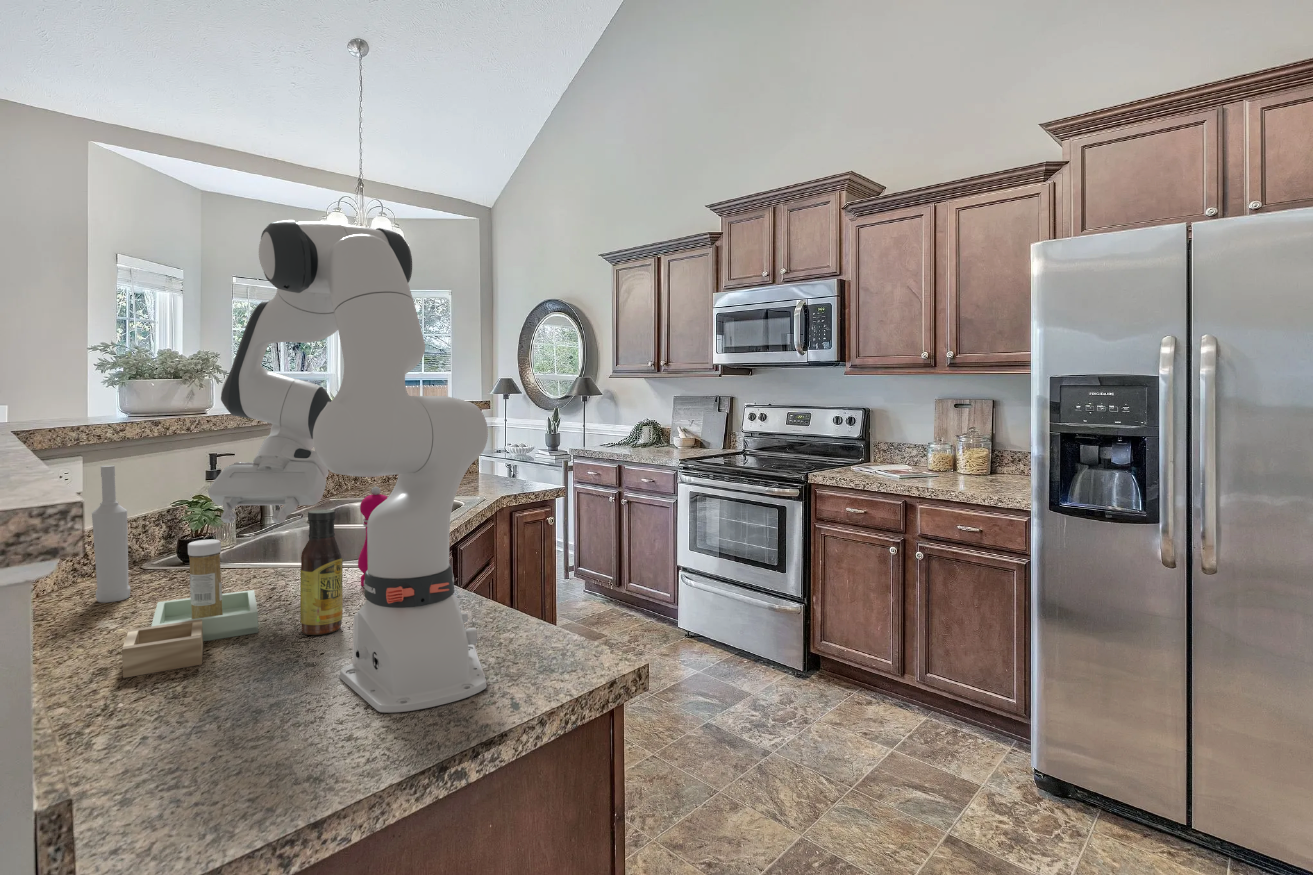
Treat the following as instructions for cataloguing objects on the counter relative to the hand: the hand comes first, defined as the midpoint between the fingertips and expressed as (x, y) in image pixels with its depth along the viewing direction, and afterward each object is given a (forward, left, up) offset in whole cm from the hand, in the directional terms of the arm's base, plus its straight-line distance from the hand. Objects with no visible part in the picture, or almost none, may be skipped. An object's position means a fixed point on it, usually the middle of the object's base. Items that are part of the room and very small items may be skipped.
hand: (251, 521), depth 124 cm
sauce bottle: (-21, -9, -16) cm, 28 cm away
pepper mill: (+3, -22, -16) cm, 27 cm away
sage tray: (-10, +7, -15) cm, 20 cm away
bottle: (+17, +22, -16) cm, 32 cm away
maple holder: (-23, +12, -15) cm, 30 cm away
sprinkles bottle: (-10, +7, -15) cm, 19 cm away
